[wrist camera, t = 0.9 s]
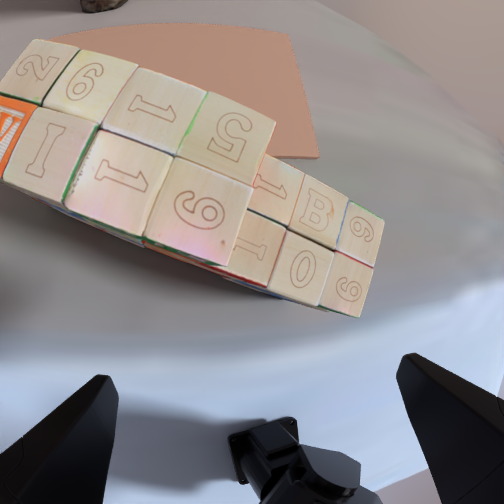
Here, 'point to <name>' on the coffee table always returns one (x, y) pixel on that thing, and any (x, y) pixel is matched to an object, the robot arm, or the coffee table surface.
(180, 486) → the coffee table surface
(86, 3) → the stone block
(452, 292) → the coffee table surface
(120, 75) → the stack of blocks
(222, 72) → the mat
